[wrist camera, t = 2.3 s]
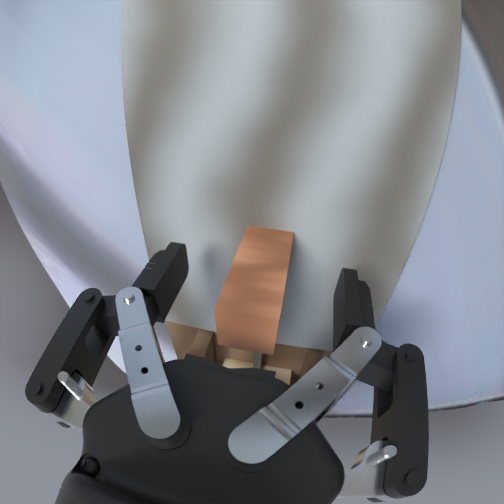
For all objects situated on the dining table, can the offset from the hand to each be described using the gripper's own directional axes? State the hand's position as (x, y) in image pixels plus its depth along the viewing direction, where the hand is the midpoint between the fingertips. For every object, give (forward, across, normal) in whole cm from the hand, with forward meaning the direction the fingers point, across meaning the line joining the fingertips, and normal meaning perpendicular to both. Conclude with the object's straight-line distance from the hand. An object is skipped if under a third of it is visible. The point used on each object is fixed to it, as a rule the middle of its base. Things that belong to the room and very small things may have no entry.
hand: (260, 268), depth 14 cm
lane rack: (+3, 0, +2) cm, 3 cm away
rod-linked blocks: (+2, 0, +9) cm, 9 cm away
